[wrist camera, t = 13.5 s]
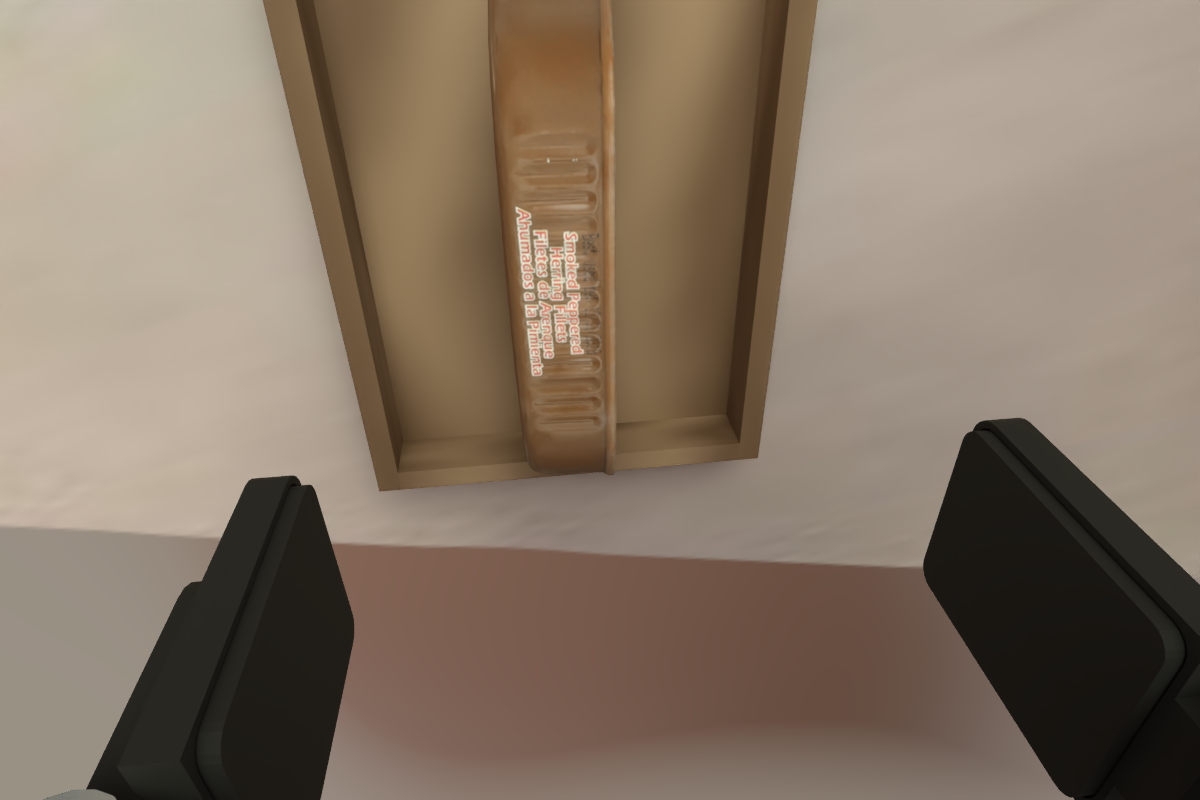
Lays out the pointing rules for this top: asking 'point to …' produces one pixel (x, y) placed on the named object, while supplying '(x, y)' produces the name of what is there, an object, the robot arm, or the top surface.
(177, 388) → the top surface
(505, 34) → the tin
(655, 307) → the walnut tray
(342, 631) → the robot arm
